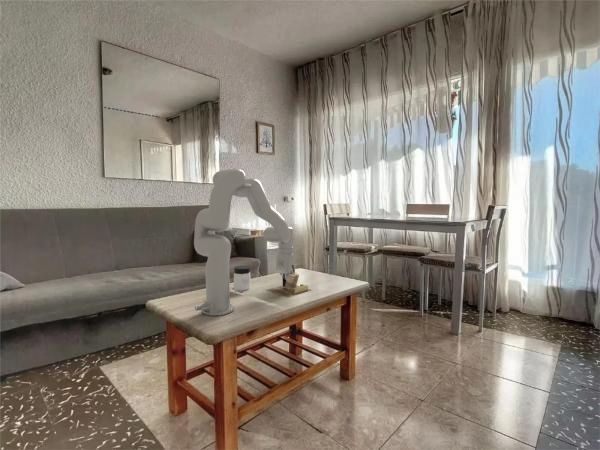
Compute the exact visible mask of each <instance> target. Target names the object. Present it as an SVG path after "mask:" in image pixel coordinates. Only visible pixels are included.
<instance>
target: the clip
mask: <svg viewBox="0 0 600 450" xmlns="http://www.w3.org/2000/svg"><path fill="white" fill-rule="evenodd" d="M299 286H300V287H296V288H294V287H289V293H292V294H297V293H301V292H304V291H308V289H309V285H307V284H303V283H301V284H300V285H299ZM308 292H309V291H308Z"/></svg>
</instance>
